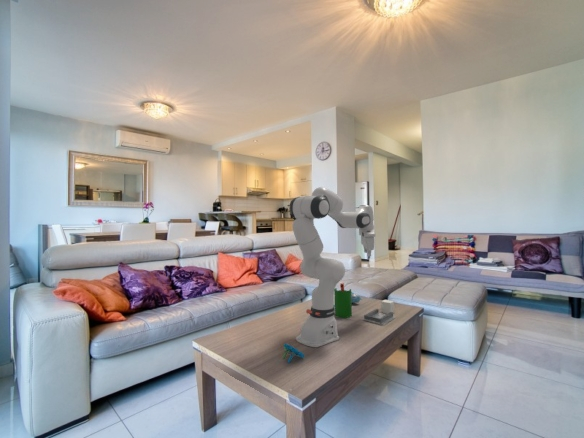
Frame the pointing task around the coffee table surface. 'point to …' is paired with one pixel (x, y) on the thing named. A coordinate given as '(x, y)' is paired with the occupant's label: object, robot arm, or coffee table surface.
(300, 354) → the blue green branched frame
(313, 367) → the coffee table surface
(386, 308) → the cream rectangular block
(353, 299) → the owl figurine
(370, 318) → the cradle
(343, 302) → the motor
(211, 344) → the coffee table surface
